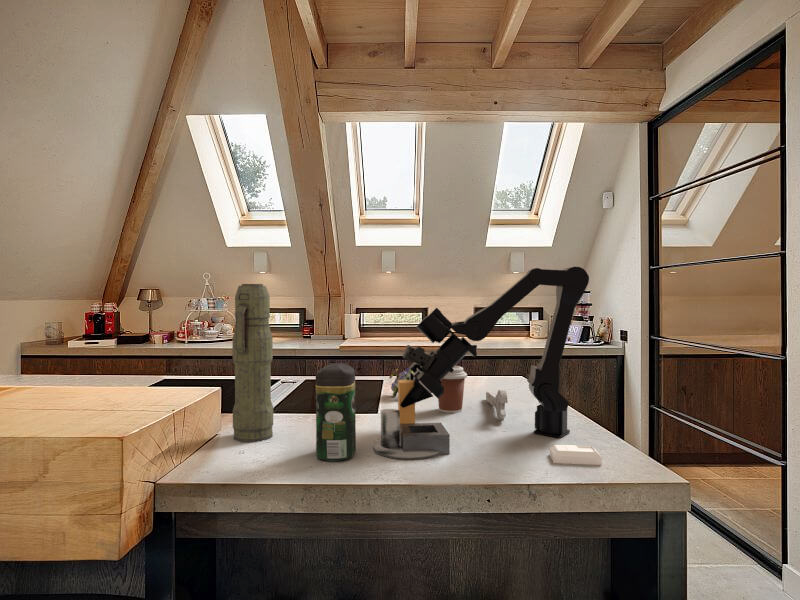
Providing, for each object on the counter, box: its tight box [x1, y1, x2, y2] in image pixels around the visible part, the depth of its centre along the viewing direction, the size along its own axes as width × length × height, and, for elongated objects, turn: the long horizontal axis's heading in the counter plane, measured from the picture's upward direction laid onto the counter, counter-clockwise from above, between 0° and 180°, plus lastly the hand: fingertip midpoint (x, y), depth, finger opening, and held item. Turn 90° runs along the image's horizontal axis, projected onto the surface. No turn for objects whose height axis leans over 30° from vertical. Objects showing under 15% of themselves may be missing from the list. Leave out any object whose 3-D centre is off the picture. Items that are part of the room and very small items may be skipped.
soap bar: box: [549, 444, 603, 466], centre depth 102 cm, size 5×9×3 cm, turn 82°
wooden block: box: [397, 380, 416, 424], centre depth 121 cm, size 4×4×12 cm
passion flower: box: [388, 368, 413, 398], centre depth 160 cm, size 11×11×12 cm
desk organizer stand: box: [373, 408, 451, 461], centre depth 109 cm, size 15×15×8 cm
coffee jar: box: [314, 362, 357, 462], centre depth 104 cm, size 10×8×19 cm
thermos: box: [232, 283, 274, 443], centre depth 117 cm, size 9×12×35 cm
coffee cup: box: [437, 365, 468, 414], centre depth 143 cm, size 9×9×12 cm
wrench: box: [485, 389, 508, 421], centre depth 142 cm, size 8×2×30 cm
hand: (400, 404), depth 121 cm, fingers closed on wooden block, 4 cm apart
